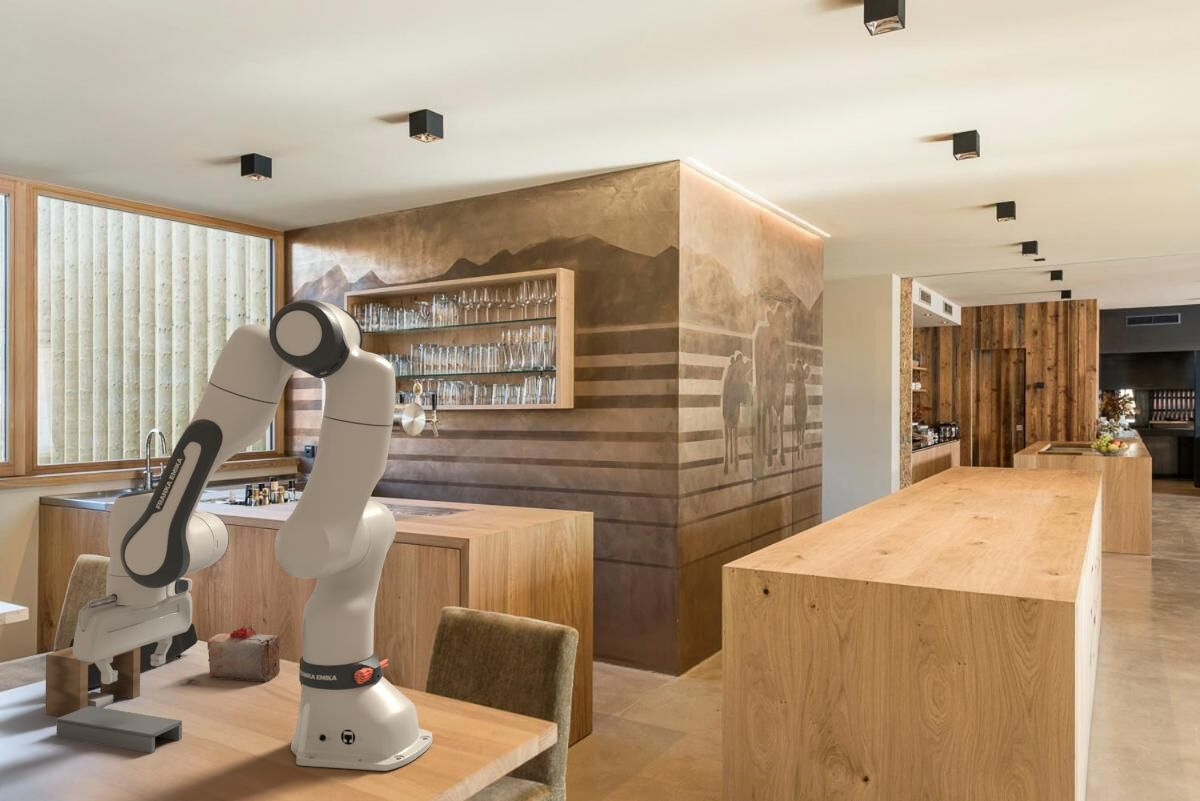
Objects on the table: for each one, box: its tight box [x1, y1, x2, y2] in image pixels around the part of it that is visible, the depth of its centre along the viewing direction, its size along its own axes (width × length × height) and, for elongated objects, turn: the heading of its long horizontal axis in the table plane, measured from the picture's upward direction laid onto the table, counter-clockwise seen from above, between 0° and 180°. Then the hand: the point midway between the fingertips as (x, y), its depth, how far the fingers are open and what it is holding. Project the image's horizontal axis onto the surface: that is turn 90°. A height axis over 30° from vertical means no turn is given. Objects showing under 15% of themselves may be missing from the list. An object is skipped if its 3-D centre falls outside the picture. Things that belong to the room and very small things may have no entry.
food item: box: [207, 624, 281, 682], centre depth 168 cm, size 14×8×10 cm, turn 81°
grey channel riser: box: [56, 706, 183, 754], centre depth 137 cm, size 20×6×3 cm, turn 72°
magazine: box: [67, 623, 198, 689], centre depth 168 cm, size 17×3×30 cm
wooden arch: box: [44, 646, 141, 717], centre depth 152 cm, size 8×12×10 cm, turn 162°
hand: (134, 673), depth 136 cm, fingers open, 8 cm apart
